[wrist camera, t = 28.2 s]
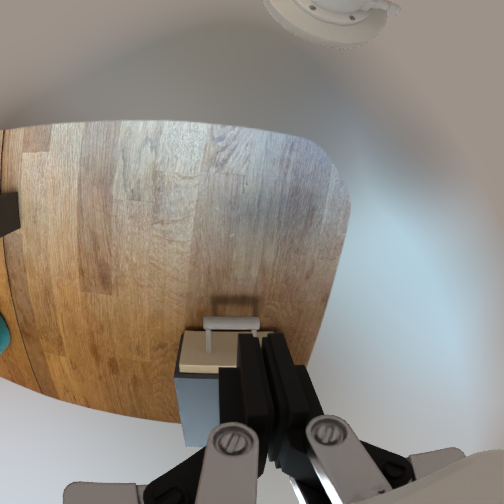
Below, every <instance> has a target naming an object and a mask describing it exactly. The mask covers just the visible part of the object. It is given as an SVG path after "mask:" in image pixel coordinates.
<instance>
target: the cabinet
mask: <svg viewBox="0 0 504 504" xmlns="http://www.w3.org/2000/svg"><path fill="white" fill-rule="evenodd" d="M183 338H184V334H181V339H180V345H179V350H178V356H177V362H176V367H175V373H174V382H175V389H176V395H177V402H178V408H179V413H180V419H181V424H182V430H183V435H184V439H185V445H186V446H191V447H205V446H206V444H207V439H208V436H209V434H210V432H211V431H212V430H213V429H214V428H215V427H216V426H218V425H220V422H219V381H218V374H188V373H187V372H180V368H179V362H180V356H181V350H182V344H183Z"/></svg>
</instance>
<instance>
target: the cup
mask: <svg viewBox="0 0 504 504" xmlns="http://www.w3.org/2000/svg"><path fill="white" fill-rule="evenodd" d="M9 343H10V333H9V330H8V327H7V325H6V323H5V321H4V319H3V318H2V316H1V315H0V355H1V354H2V353H3V352H4V350H5V349H6V348H7V347H8V346H9Z"/></svg>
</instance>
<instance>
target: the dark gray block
mask: <svg viewBox="0 0 504 504" xmlns="http://www.w3.org/2000/svg"><path fill="white" fill-rule="evenodd" d="M19 228H20V220H19V209H18V195H17V192H13V193H4V194H0V238H1V237H3V236H5V235H7V234H9V233H11V232H13V231H15V230H17V229H19Z"/></svg>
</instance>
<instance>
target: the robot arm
mask: <svg viewBox="0 0 504 504" xmlns="http://www.w3.org/2000/svg"><path fill="white" fill-rule="evenodd" d="M292 1H293V2H294V3H295V4H296V5H297V6H298V7H299V8H301V9H302V10H303V11H305V12H306V13H308V14H309V15H311V16H313V17H314V18H317V19H319V20H321V21H324V22H327V23H330V24H336V25H354V24H357V23H360V22H361V21H363V20H364V19H366V18H367V17H368V16H369V15H370V13H371V11H372V8H374V9H379V8H380V9H383V10H385V11H386V12H389V13H391V14H394V15H398V14H399V13H400V6H399V5H397V4H395V3H392V2H390V1H386V0H292ZM218 381H219V422H220V425H218V426H216V427H215V428H214V429H213V430H212V431H211V432H210V434H209V436H208V439H207V444H206V446H205V447H203V448H202V449H201V450H199V451H198V452H196V453H195V454H194V455H192V456H191V457H189V458H188V459H186V460H185V461H183V462H182V463H180V464H179V465H177V466H176V467H174V468H173V469H171V470H170V471H168V472H167V473H165V474H163V475H162V476H160V477H159V478H157V479H155V480H154V481H152V482H151V483H150V484H148V485H136V483H94V482H73V483H71V484H69V485H68V486H67V487H66V488H65V489H64V493H63V504H256V497H257V479H258V478H259V477H260V476H261V475H262V474H263V472H264V467H265V463H266V458H267V454H268V457H269V461H270V462H272V461H275V466H276V468H281V469H282V472H284V473H286V474H287V475H289V478H290V482H291V484H292V486H293V489H294V491H295V493H296V495H297V497H298V500H299V502H300V504H504V450H488V451H484V452H479V453H475V454H472V455H470V456H467V457H466V456H465V455H464V453H463V452H462V451H461V450H460V449H458V448H455V447H451V448H445V449H441V450H436V451H431V452H425V453H420V454H413V455H409V457H408V458H404V457H402V456H400V455H397V454H395V453H392V452H389V451H387V450H384V449H381V448H379V447H376V446H373V445H371V444H368V443H366V442H363V441H361V440H359V439H358V437H357V436H356V434H355V433H354V432H353V430H352V428H351V427H350V425H349V424H348V423H347V422H346V421H345V420H343V419H342V418H340V417H337V416H334V415H324V413H323V410H322V407H321V405H320V402H319V400H318V397H317V395H316V392H315V390H314V387H313V385H312V382H311V379H310V377H309V374H308V372H307V369H306V367H305V366H304V365H294V363H293V360H292V357H291V355H290V352H289V349H288V346H287V343H286V340H285V337H284V335H283V333H268V334H267V337H262V343H261V346H260V341H259V337H253V333H238V341H237V364H236V367H218Z"/></svg>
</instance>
